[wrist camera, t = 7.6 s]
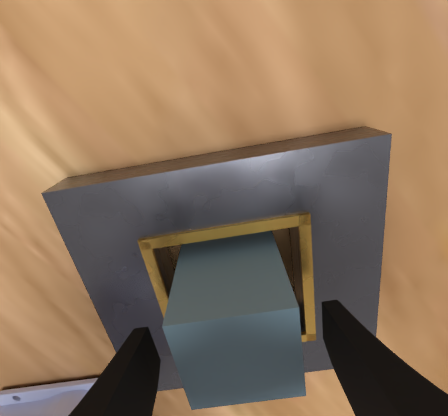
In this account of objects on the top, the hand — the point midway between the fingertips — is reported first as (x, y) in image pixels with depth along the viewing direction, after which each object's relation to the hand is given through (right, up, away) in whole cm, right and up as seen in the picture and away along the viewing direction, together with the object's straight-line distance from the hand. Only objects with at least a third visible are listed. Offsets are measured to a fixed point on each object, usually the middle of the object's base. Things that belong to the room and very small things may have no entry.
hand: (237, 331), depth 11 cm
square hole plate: (0, +2, +4) cm, 4 cm away
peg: (0, +2, +4) cm, 4 cm away
